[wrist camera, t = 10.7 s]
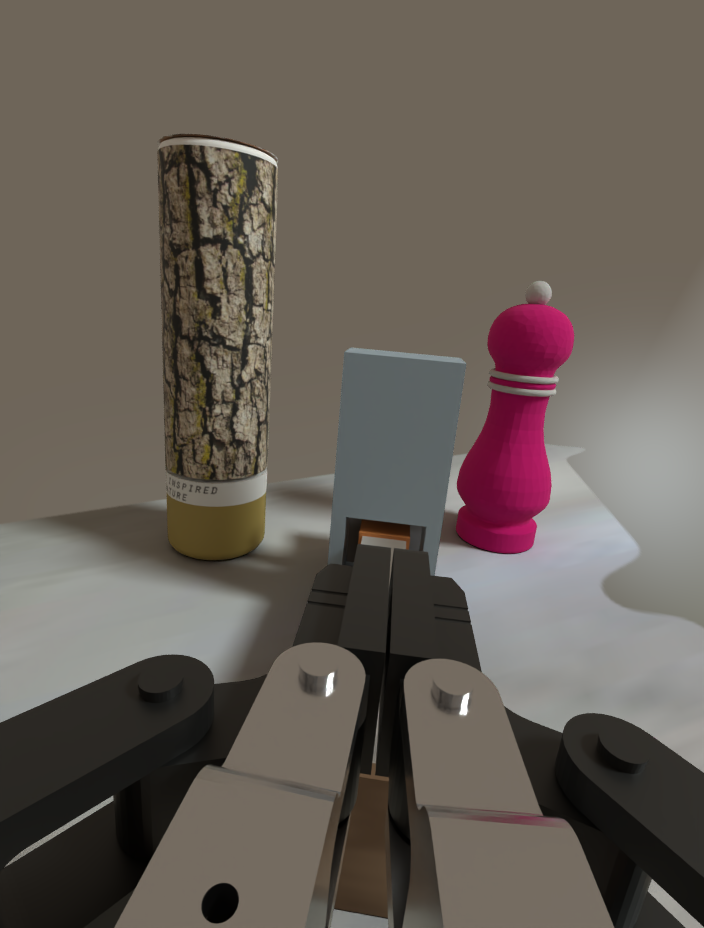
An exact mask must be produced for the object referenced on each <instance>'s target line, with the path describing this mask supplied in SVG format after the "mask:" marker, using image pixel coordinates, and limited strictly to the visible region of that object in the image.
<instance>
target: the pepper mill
mask: <svg viewBox="0 0 704 928" xmlns="http://www.w3.org/2000/svg"><path fill="white" fill-rule="evenodd" d="M551 294H552V292H551V287H550V286H549V285H548V284H547V283H546V282H543V281H536V282H534V283H532V284H531V285H530V286H529V287H528V288H527V290H526V294H525V296H526V301H527V302H528V304H521V305H517V306H513V307H511V308H509V309H507V310H505V311H504V312H502V313H501V314H500V315H499V316H498V317H497V318H496V319H495V321H494V322H493V324H492V326H491V328H490V332H489V335H488V350H489V353H490V355H491V356H492V358H493V360H494V362H495V367H496V368H494V369H491V370H490V371H489V374H490V375H491V377H490V381H489V382H488V383H487V386H488V387H489V388H491V389H492V393H491V403H490V408H489V412H488V416H487V419H486V422H485V424H484V427H483V429H482V431H481V433H480V435H479V437H478V439H477V440H476V442H475V443H474V445H473V447H472V448H471V450H470V451H469V453H468V454H467V456H466V458H465V460H464V462H463V464H462V466H461V468H460V472H459V476H458V480H457V490H458V493H459V495H460V497H461V498H462V500H463V501H464V503H465V504H466V505H465V506H463V507H462V508H461V509H460V510H459V512H458V518H457V524H456V531H457V533H458V535H459V536H460V537H461V538H462V539H463V540H464V541H466V542H468V543H469V544H471V545H473V546H476V547H478V548H481V549H484V550H488V551H492V552H497V553H521V552H524V551H527V550H529V549H530V548H531V547H532V546H533V543H534V538H535V533H536V528H537V524H536V522H535V521H534V520H533V519H532V517H534V516H535V515H537V514H538V513H540V512H541V511H542V510H543V509H545V507H546V506H547V505H548V503H549V500H550V493H551V472H550V468H549V464H548V459H547V455H546V450H545V445H544V432H543V427H544V418H545V411H546V407H547V404H548V400H549V397H550V396H553V395H555V394H556V390H555V387H556V384H555V383H557V382H558V381H559V379H558V377H557V376H554V373H555V371H556V370H557V369H558V368H559V367H560V366H561V365H562V364H563V363H564V362H565V361H566V360H567V359H568V358H569V356H570V354H571V352H572V348H573V342H574V331H573V326H572V324H571V322H570V320H569V319H568V318H567V316H566V315H565V314H564V313H562V312H561V311H559V310H557V309H555V308H553V307H550V306H547V305H545V304H546V303H547V302H548V301H549V300H550V298H551Z"/></svg>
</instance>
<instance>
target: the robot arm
mask: <svg viewBox="0 0 704 928" xmlns="http://www.w3.org/2000/svg"><path fill="white" fill-rule="evenodd" d="M390 561H391V548H390V547H381V546H373V545H364V544H358V545H357V550H356V555H355V560H354V565H353V566H348V565H339V564H331V563H330V564H329V565H328V566H327V567H325V568H324V569H323V570H322V571H320V572H319V573H318V574H317V575H316V578H315V581H314V584H313V587H312V591H311V593H310V596H309V599H308V603H307V605H306V608H305V611H304V614H303V617H302V620H301V623H300V626H299V629H298V632H297V635H296V638H295V641H294V644H293V647H291V648H289V649H287V650H286V651H284V652H283V653H282V654H280V655H279V656H278V657H277V658H276V660H275V661H274V663H273V665H272V667H271V669H270V671H269V673H268V674H267V675H264V676H261V677H259V678H255V679H251V680H246V681H239V682H230V683H221V684H214V678H213V674H212V672H211V670H210V669H209V668H208V666H207V665H205V664H204V663H203V662H201V661H199V660H197V659H195V658H192V657H189V656H184V655H161V656H155V657H152V658H148V659H145V660H142V661H140V662H137V663H135V664H133V665H130V666H128V667H126V668H124V669H121V670H119V671H117V672H114V673H112V674H110V675H108V676H105V677H103V678H101V679H99V680H96V681H94V682H92V683H90V684H87V685H85V686H83V687H80V688H78V689H76V690H74V691H71V692H69V693H67V694H65V695H62V696H60V697H58V698H55V699H53V700H51V701H49V702H46V703H44V704H42V705H40V706H37V707H35V708H33V709H31V710H28V711H26V712H24V713H21V714H19V715H17V716H15V717H12V718H10V719H8V720H6V721H3V722H1V723H0V928H330V927H331V922H332V916H333V911H334V905H335V900H336V895H337V889H338V884H339V879H340V873H341V868H342V862H343V857H344V852H345V846H346V841H347V836H348V830H349V825H350V816H351V811H352V809H353V808H354V805H355V803H356V799H357V793H358V784H359V775H360V773H361V774H368V775H371V770H372V761H373V753H374V745H375V736H376V728H377V720H378V711H379V720H378V736H377V752H376V768H375V775H377V776H383V777H389V790H388V803H387V810H386V818H385V854H386V880H387V906H388V928H685V927H684V926H683V925H682V924H681V923H680V922H679V921H678V920H677V919H676V918H675V917H674V916H673V915H672V914H670V913H669V912H668V911H667V910H666V909H665V908H664V907H663V906H662V905H661V904H660V903H659V902H658V901H657V900H656V899H655V898H654V897H653V896H652V895H651V894H650V893H649V892H648V888H649V885H650V883H651V880H652V879H653V880H654V881H655V882H656V883H657V884H658V885H659V886H660V887H662V888H663V889H664V890H665V891H666V892H667V893H668V894H669V895H670V896H671V897H672V898H673V899H674V900H675V901H677V902H678V903H679V904H680V905H681V906H682V907H683V908H684V909H685V910H686V911H687V912H688V913H689V914H690V915H692V916H693V917H694V918H695V919H696V920H697V921H698V922H699V923H700V924H701V925H702V926H703V927H704V773H703V772H702V771H700V770H699V769H698V768H696V767H695V766H693V765H692V764H690V763H689V762H688V761H686V760H685V759H683V758H682V757H681V756H679V755H678V754H676V753H675V752H674V751H672V750H671V749H669V748H668V747H667V746H665V745H664V744H662V743H661V742H660V741H658V740H657V739H655V738H654V737H653V736H651V735H650V734H648V733H647V732H645V731H644V730H642V729H641V728H639V727H637V726H635V725H633V724H631V723H629V722H627V721H624V720H622V719H619V718H616V717H613V716H609V715H604V714H596V713H587V714H581V715H578V716H575V717H573V718H572V719H570V720H569V721H568V722H567V724H566V725H565V727H564V730H563V733H561V732H558V731H555V730H553V729H550V728H548V727H545V726H542V725H540V724H537V723H534V722H532V721H529V720H527V719H525V718H523V717H521V716H519V715H517V714H515V713H513V712H512V711H510V710H509V709H508V708H506V707H505V706H504V705H503V702H502V699H501V697H500V694H499V692H498V690H497V688H496V686H495V685H494V684H493V682H492V681H491V680H490V679H489V678H488V677H487V676H485V675H484V674H483V673H482V671H481V667H480V662H479V658H478V653H477V648H476V644H475V639H474V634H473V630H472V625H471V620H470V616H469V611H468V606H467V602H466V597H465V592H464V591H463V590H462V589H461V588H460V587H459V586H458V585H457V584H456V582H455V581H454V580H453V579H452V578H448V577H439V576H431V575H430V565H429V555H428V552H424V551H416V550H407V549H399V548H394V551H393V559H392V567H391V576H390ZM389 579H390V584H389ZM379 703H380V704H379ZM111 796H113V798H114V801H112V802H111V803H109V804H107V805H106V806H104V807H103V808H101V809H99V810H98V811H96V812H94V813H93V814H91V815H90V816H88V817H86V818H85V819H83V820H81V821H80V822H78V823H77V824H75V825H73V826H72V827H70V828H68V829H67V830H65V831H64V832H62V833H60V834H59V835H57V836H55V837H54V838H52V839H51V840H49V841H47V842H46V843H44V844H42V845H41V846H39V847H38V848H36V849H34V850H33V851H31V852H29V853H28V854H26V855H25V856H23V857H21V858H20V859H18V860H16V861H15V862H13V863H12V864H10V865H8V866H6V865H7V864H8V863H9V862H10V861H11V860H12V859H13V858H14V857H15V856H16V855H17V854H19V853H20V852H21V851H23V850H24V849H26V848H27V847H29V846H30V845H32V844H34V843H35V842H37V841H39V840H40V839H42V838H44V837H45V836H47V835H49V834H50V833H52V832H53V831H55V830H57V829H58V828H60V827H62V826H63V825H65V824H67V823H68V822H70V821H72V820H73V819H75V818H77V817H78V816H80V815H81V814H83V813H85V812H86V811H88V810H90V809H91V808H93V807H95V806H96V805H98V804H100V803H101V802H103V801H105V800H106V799H108V798H109V797H111ZM5 866H6V867H5ZM4 867H5V868H4Z"/></svg>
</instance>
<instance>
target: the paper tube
mask: <svg viewBox="0 0 704 928" xmlns="http://www.w3.org/2000/svg"><path fill="white" fill-rule="evenodd" d="M158 144H159V148H158V153H157V154H158V191H159V192H158V193H159V230H160V270H161V309H162V345H163V347H162V348H163V384H164V385H163V386H164V425H165V463H166V491H167V527H168V540H169V542H170V544H171V545H172V546H173V547H174V549H175V550H177V551H178V552H180V553H181V554H184V555H186V556H189V557H192V558H196V559H202V560H224V559H231V558H235V557H239V556H242V555H244V554H247V553H249V552H251V551H252V550H254V549H255V548H256V547H257V546H258V545H259V544H260V543H261V541H262V540H263V538H264V533H265V506H266V488H267V461H268V434H269V432H268V431H269V406H270V405H269V404H270V380H271V378H270V377H271V351H272V324H273V296H274V269H275V243H276V217H277V190H278V168H277V163H278V159H277V157H276V156H275V155H273V154H272V153H270V152H269V151H267V150H265V149H262V148H260V147H257V146H254V145H251V144H248V143H245V142H241V141H237V140H233V139H227V138H222V137H216V136H209V135H198V134H174V135H168V136H164V137H162V138H160V139H159V140H158Z"/></svg>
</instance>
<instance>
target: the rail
mask: <svg viewBox="0 0 704 928" xmlns="http://www.w3.org/2000/svg"><path fill="white" fill-rule="evenodd" d="M421 532H422V526H416V525H408V524H400V523H391V522H383V521H375V520H366V519H358V518H350V524H349V535H348V546H347V557H346V562H354V560H355V555H356V550H357V545H358V544H364V545H373V546H381V547H390V548H391V561H390V576H391V567H392V559H393V551H394V548H399V549H407V550H416V551H419V547H420V539H421ZM389 584H390V579H389ZM379 704H380V703H379ZM378 720H379V711H378ZM378 720H377V728H376V736H375V745H374V753H373V761H372V770H371V775H368V774H361V773H360V775H359V784H358V793H357V799H356V803H355V805H354V808H353V809H352V811H351V816H350V825H349V830H348V836H347V841H346V846H345V852H344V857H343V862H342V868H341V873H340V879H339V884H338V889H337V895H336V900H335V905H334V908H336V909H341V910H347V911H352V912H358V913H363V914H369V915H374V916H380V917H385V918H388V906H387V880H386V854H385V818H386V810H387V803H388V790H389V777H383V776H377V775H375V768H376V752H377V736H378Z"/></svg>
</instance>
